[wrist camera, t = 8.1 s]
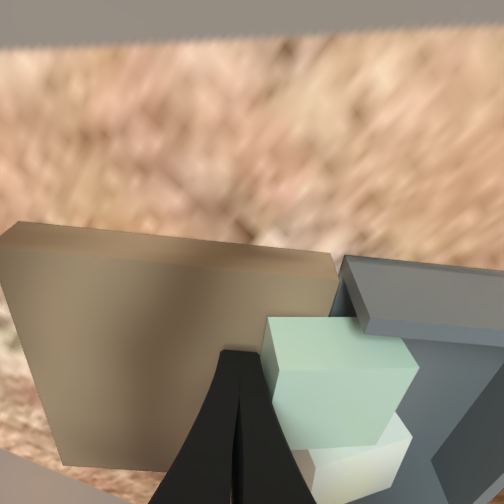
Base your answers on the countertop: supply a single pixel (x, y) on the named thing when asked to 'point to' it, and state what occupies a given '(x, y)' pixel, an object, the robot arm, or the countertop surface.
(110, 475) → the countertop surface
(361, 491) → the cream tile
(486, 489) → the tray
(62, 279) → the tan flat slab
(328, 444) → the sage tile
